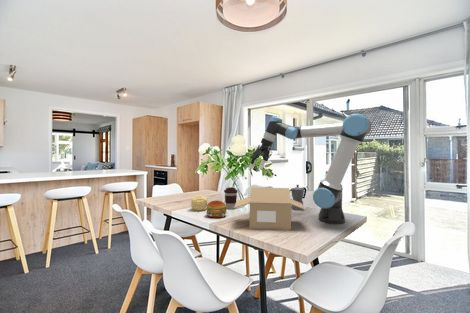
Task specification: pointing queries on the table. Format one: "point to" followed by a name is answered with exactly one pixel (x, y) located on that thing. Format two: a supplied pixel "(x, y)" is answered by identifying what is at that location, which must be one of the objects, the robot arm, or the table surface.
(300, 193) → the coffeepot
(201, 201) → the sculpture
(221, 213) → the burger
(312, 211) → the table surface
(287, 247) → the table surface
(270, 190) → the near flap
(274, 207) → the carton
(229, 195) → the coffee cup
